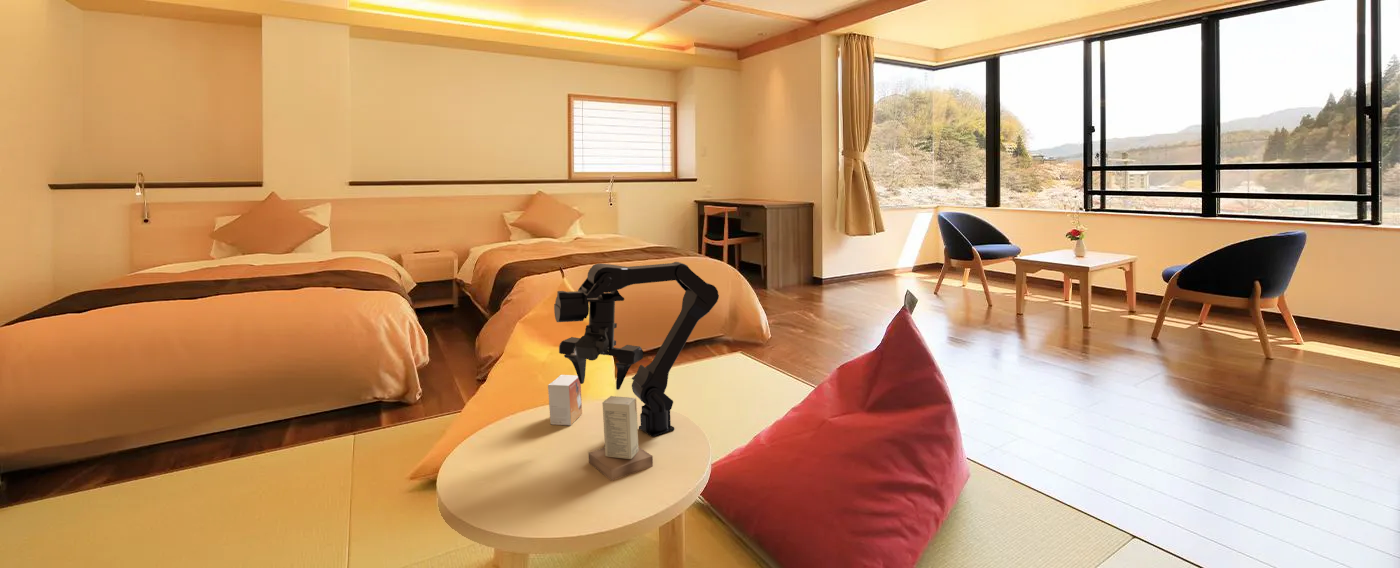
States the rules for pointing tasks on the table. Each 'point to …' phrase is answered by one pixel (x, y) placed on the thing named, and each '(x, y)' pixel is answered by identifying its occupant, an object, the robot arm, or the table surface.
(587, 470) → the table surface
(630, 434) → the skincare box
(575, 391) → the small box
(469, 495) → the table surface
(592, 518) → the table surface
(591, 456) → the walnut block
